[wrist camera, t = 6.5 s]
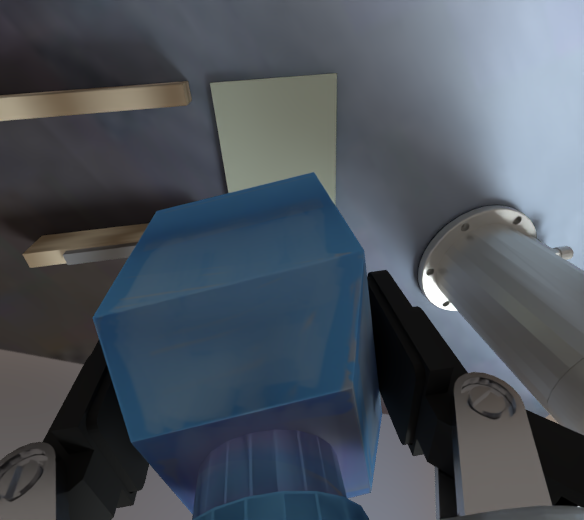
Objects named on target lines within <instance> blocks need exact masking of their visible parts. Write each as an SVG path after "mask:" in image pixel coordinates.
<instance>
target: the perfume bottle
mask: <svg viewBox="0 0 584 520" xmlns="http://www.w3.org/2000/svg"><path fill="white" fill-rule="evenodd" d="M93 320H94V324H95V327H96V330H97V333H98V337H99V340H100V343H101V346H102V350H103V353H104V356H105V360H106V363H107V366H108V369H109V373H110V376H111V379H112V382H113V386H114V389H115V392H116V395H117V399H118V402H119V405H120V409H121V412H122V415H123V418H124V422H125V425H126V428H127V431H128V435H129V438H130V441H131V443H132V444H133V446H134V447H135V448H136V449H137V450H138V451H139V452H140V454H141V455H142V456H143V457H144V458H145V459H146V461H147V462H148V463H149V464H150V465H151V466H152V468H153V469H154V470H155V471H156V472H157V473H158V474H159V476H160V477H161V478H162V479H163V480H164V482H165V483H166V484H167V485H168V486H169V487H170V488H171V490H172V491H173V492H174V493H175V494H176V495H177V497H178V498H179V499H180V500H181V501H182V502H183V504H184V505H185V506H186V507H187V508H188V509H189V510H190V512H191V513H192V514H193V518H192V520H369V518H368V516H367V515H366V513H365V511H364V510H363V508H362V507H361V506H360V505H358V504H357V503H355V502H353V501H351V500H349V499H347V498H351V497H355V496H359V495H364V494H368V493H371V489H372V482H373V474H374V466H375V460H376V453H377V446H378V439H379V431H380V424H381V417H382V410H381V401H380V392H379V382H378V373H377V364H376V355H375V346H374V336H373V327H372V318H371V309H370V300H369V291H368V281H367V272H366V263H365V254H364V250H363V248H362V247H361V245H360V243H359V242H358V240H357V239H356V237H355V236H354V234H353V232H352V231H351V229H350V228H349V226H348V225H347V223H346V221H345V220H344V218H343V217H342V215H341V214H340V212H339V210H338V209H337V207H336V206H335V204H334V203H333V201H332V199H331V198H330V196H329V195H328V193H327V192H326V190H325V189H324V187H323V185H322V184H321V182H320V181H319V179H318V178H317V176H316V174H315V173H314V172H312V173H308V174H304V175H300V176H296V177H292V178H288V179H284V180H280V181H276V182H272V183H268V184H264V185H260V186H256V187H252V188H247V189H243V190H239V191H235V192H231V193H227V194H223V195H219V196H215V197H211V198H207V199H203V200H199V201H195V202H191V203H187V204H183V205H179V206H175V207H171V208H167V209H163V210H159V211H156V213H155V215H154V216H153V218H152V220H151V221H150V223H149V225H148V226H147V228H146V230H145V231H144V233H143V235H142V236H141V238H140V240H139V241H138V243H137V245H136V246H135V248H134V250H133V251H132V253H131V255H130V256H129V258H128V260H127V261H126V263H125V265H124V266H123V268H122V270H121V271H120V273H119V275H118V276H117V278H116V280H115V281H114V283H113V285H112V286H111V288H110V290H109V291H108V293H107V295H106V296H105V298H104V300H103V301H102V303H101V305H100V306H99V308H98V310H97V311H96V313H95V315H94V316H93Z"/></svg>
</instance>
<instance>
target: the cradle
mask: <svg viewBox="0 0 584 520" xmlns="http://www.w3.org/2000/svg"><path fill="white" fill-rule="evenodd" d="M191 101H192V98H191V93H190V88H189V83H188V81H183V82H170V83H156V84H143V85H130V86H117V87H103V88H90V89H77V90H64V91H50V92H37V93H24V94H11V95H0V121H5V120H17V119H29V118H41V117H53V116H65V115H77V114H90V113H102V112H114V111H126V110H138V109H150V108H162V107H174V106H186V105H188V104H189V103H190V102H191ZM148 225H149V223H146V224H138V225H129V226H121V227H112V228H104V229H95V230H87V231H78V232H70V233H61V234H52V235H44V236H41V237H40V238H39V239H38V240H37V241H36V242H35V243H34V244H33V245H32V246H31V247H30V248H29V249H27V250H26V251H25V252H24V253H23V256H24V258H25V260H26V261H27V263H28V265H29V267H30V268H32V267H40V266H48V265H56V264H64V263H67V264H68V265H72V264H80V263H88V262H96V261H103V260H111V259H119V258H127V257H129V256H130V255H131V253H132V251H133V250H134V248H135V246H136V245H137V243H138V241H139V240H140V238H141V236H142V235H143V233H144V231H145V230H146V228H147V226H148Z"/></svg>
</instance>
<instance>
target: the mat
mask: <svg viewBox="0 0 584 520" xmlns="http://www.w3.org/2000/svg"><path fill="white" fill-rule="evenodd" d="M210 87H211V93H212V98H213V104H214V110H215V116H216V122H217V128H218V134H219V140H220V146H221V152H222V158H223V164H224V169H225V175H226V181H227V187H228V193H231V192H235V191H239V190H243V189H247V188H252V187H256V186H260V185H264V184H268V183H272V182H276V181H280V180H284V179H288V178H292V177H296V176H300V175H304V174H308V173H312V172H314V173H315V174H316V176H317V178H318V179H319V181H320V182H321V184H322V185H323V187H324V189H325V190H326V192H327V193H328V195H329V196H330V198H331V199H332V201H333V203H334V204H335V188H336V112H337V73H331V74H318V75H305V76H291V77H278V78H265V79H252V80H239V81H226V82H213V83H210Z"/></svg>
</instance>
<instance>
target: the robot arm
mask: <svg viewBox="0 0 584 520" xmlns="http://www.w3.org/2000/svg"><path fill="white" fill-rule="evenodd" d="M572 257H573V250H572V249H571V248H570V247H568V246H564V247H556V248H553V249H552V248H550V247H549V246H547V245H545V244H544V243H542V242H540V241H539V240H537V234H536V230H535V226H534V225H533V223H532V221H531V220H530V219H529V218H528V217H527V216H526V215H525V214H523V213H521V212H519V211H518V210H516V209H514V208H510V207H507V206H499V205H493V206H485V207H481V208H478V209H474V210H471V211H469V212H467V213H465V214H463V215H461V216H459V217H458V218H456V219H455V220H453V221H452V222H450V223H449V224H448V225H446V226H445V227H444V228H443V229H442V230H441V231H440V232H439V233H438V234H437V235H436V236H435V237H434V238H433V240H432V241H431V242H430V244H429V245H428V247H427V248H426V250H425V252H424V254H423V256H422V259H421V261H420V265H419V269H418V281H419V286H420V288H421V290H422V292H423V294H424V295H425V296H426V297H427V299H428V300H429V301H430V302H431V303H432V304H434V305H435V306H437V307H439V308H441V309H445V310H451V311H458V312H459V313H460V314H461V315H462V316H463V317H464V319H465V320H466V321H467V322H468V323H469V324H470V325H471V326H472V328H473V329H474V330H475V331H476V332H477V333H478V334H479V335H480V336H481V338H482V339H483V340H484V341H485V342H486V343H487V344H488V345H489V347H490V348H491V349H492V350H493V351H494V352H495V353H496V354H497V356H498V357H499V358H500V359H501V360H502V361H503V362H504V363H505V364H506V366H507V367H508V368H509V369H510V370H511V371H512V372H513V373H514V375H515V376H516V377H517V378H518V379H519V380H520V381H521V382H522V384H523V385H524V386H525V387H526V388H527V389H528V390H529V391H530V393H531V394H532V395H533V396H534V397H535V398H536V399H537V400H538V401H539V403H540V404H541V405H542V406H543V407H544V408H545V409H546V410H547V412H548V413H549V414H550V415H551V416H552V417H553V418H554V419H555V420H556V421H557V422H558V423H559V424H557V423H555V422H553V421H550V420H548V419H546V418H544V417H541V416H539V415H537V414H534V413H532V412H530V411H528V410H525V406H524V404H523V401H522V399H521V397H520V396H519V394H518V393H517V392H516V391H515V390H514V389H513V388H512V387H511V386H510V385H509V384H507V383H506V382H505V381H503V380H501V379H499V378H497V377H495V376H493V375H489V374H486V373H479V372H472V373H468V372H467V371H466V370H465V368H464V367H463V366H462V364H461V363H460V361H459V360H458V359H457V357H456V356H455V354H454V353H453V352H452V350H451V349H450V347H449V346H448V345H447V343H446V342H445V341H444V339H443V338H442V336H441V335H440V334H439V332H438V331H437V329H436V328H435V327H434V325H433V324H432V322H431V321H430V320H429V318H428V317H427V316H426V314H425V313H424V311H423V310H422V309H421V308H420V307H418V306H417V307H412V306H411V304H410V303H409V301H408V300H407V298H406V297H405V295H404V294H403V292H402V291H401V290H400V288H399V287H398V285H397V284H396V282H395V281H394V279H393V278H392V276H391V275H390V274H389V272H388V271H387V270H382V271H375V272H369V273H368V277H367V281H368V291H369V300H370V309H371V318H372V327H373V336H374V346H375V355H376V364H377V373H378V382H379V391H380V393H381V396H382V398H383V400H384V403H385V405H386V408H387V410H388V413H389V415H390V417H391V420H392V422H393V425H394V427H395V429H396V432H397V434H398V437H399V439H400V441H401V443H402V444H403V445H406V444H408V446H409V448H410V450H411V453H412V455H413V456H417V455H422V454H424V456H425V458H426V460H427V462H429V463H431V464H432V465H434V467H435V505H436V520H584V271H583V270H582V269H580V268H578V267H577V266H575V265H573V264H572V263H570V262H568V261H567V260H568V259H571V258H572ZM148 467H149V463H148V462H147V461H146V459H145V458H144V457H143V456H142V455H141V454H140V452H139V451H138V450H137V449H136V448H135V447H134V446H133V444H132V443H131V441H130V438H129V435H128V431H127V428H126V425H125V422H124V418H123V415H122V412H121V409H120V405H119V402H118V399H117V395H116V392H115V389H114V386H113V382H112V379H111V376H110V373H109V369H108V366H107V363H106V360H105V356H104V353H103V350H102V346H101V343H100V340H99V341H98V343H97V344H96V346H95V348H94V350H93V352H92V354H91V355H90V356H89V357H88V359H87V360H86V362H85V364H84V366H83V367H82V369H81V371H80V373H79V375H78V377H77V379H76V381H75V382H74V384H73V386H72V388H71V390H70V392H69V394H68V396H67V397H66V399H65V401H64V403H63V405H62V407H61V409H60V410H59V412H58V414H57V416H56V418H55V420H54V422H53V424H52V425H51V427H50V429H49V431H48V433H47V435H46V437H45V438H44V440H43V442H36V443H30V444H27V445H25V446H22V447H20V448H18V449H16V450H14V451H13V452H11V453H9V454H8V455H6V456H5V457H4V458H3V459H1V460H0V520H111V519H112V518H113V517H114V514H115V511H116V508H120V507H126V506H131V505H133V504H134V501H135V497H136V493H137V491H139V490H141V489H142V488H143V486H144V483H145V479H146V475H147V470H148Z"/></svg>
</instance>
